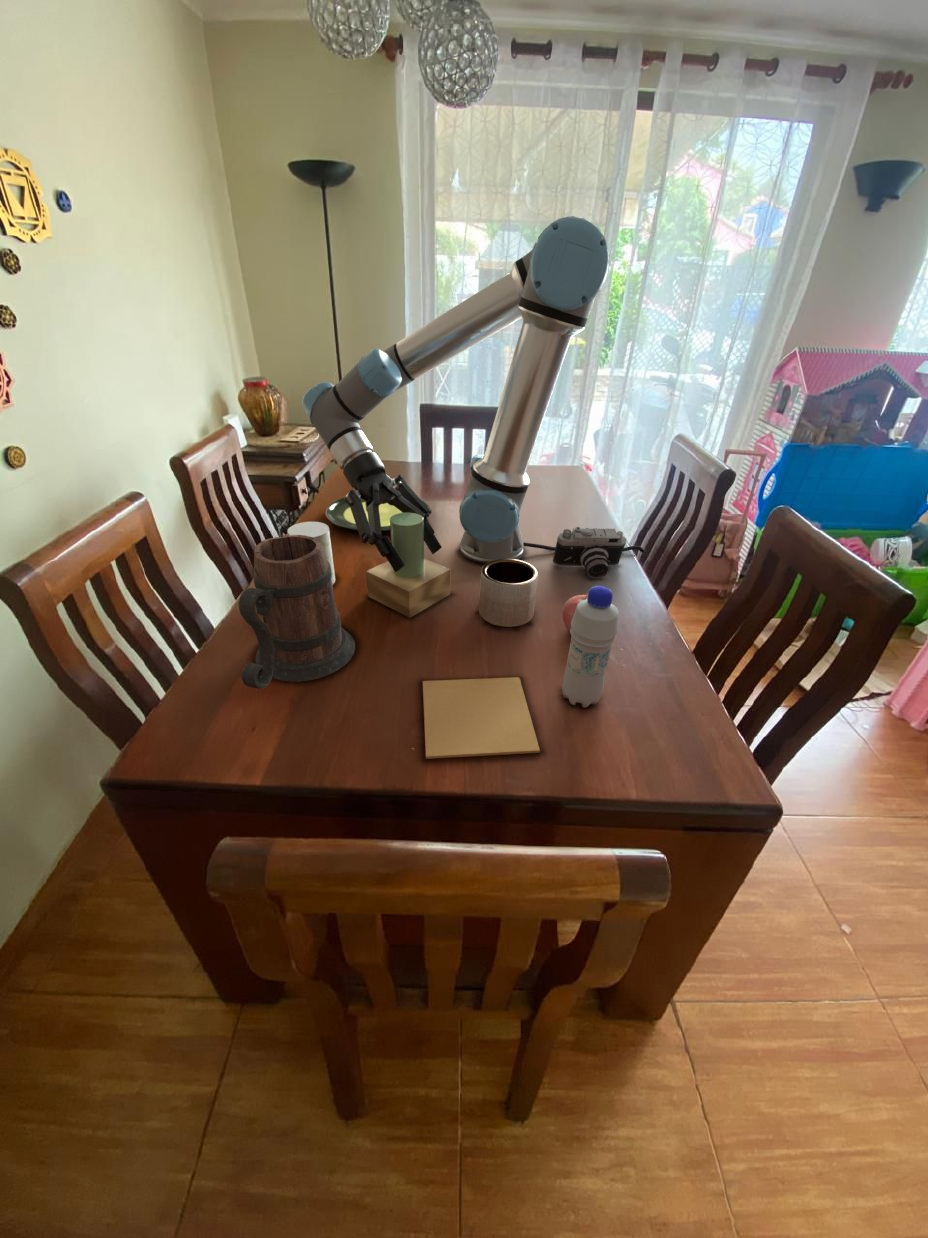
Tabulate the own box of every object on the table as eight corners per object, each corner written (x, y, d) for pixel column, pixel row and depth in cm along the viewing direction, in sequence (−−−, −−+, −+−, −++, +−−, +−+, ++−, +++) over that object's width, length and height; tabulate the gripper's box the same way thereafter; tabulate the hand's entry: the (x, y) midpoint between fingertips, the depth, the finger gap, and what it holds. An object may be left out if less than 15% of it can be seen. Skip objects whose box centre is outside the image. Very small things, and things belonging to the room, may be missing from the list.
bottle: (554, 684, 86) (571, 577, 75) (594, 682, 86) (617, 576, 75) (564, 712, 80) (584, 602, 69) (607, 711, 81) (633, 601, 70)
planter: (538, 605, 106) (543, 563, 101) (526, 634, 97) (531, 590, 92) (487, 595, 109) (490, 554, 104) (471, 622, 100) (473, 578, 95)
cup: (325, 592, 108) (318, 539, 101) (289, 588, 109) (279, 535, 103) (341, 574, 115) (335, 523, 108) (306, 570, 116) (298, 519, 109)
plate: (441, 505, 151) (441, 496, 150) (412, 544, 128) (412, 535, 127) (351, 495, 156) (351, 486, 155) (308, 531, 133) (306, 522, 132)
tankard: (290, 616, 100) (272, 519, 89) (371, 633, 96) (362, 533, 85) (207, 694, 81) (171, 583, 70) (303, 718, 78) (280, 604, 66)
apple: (568, 617, 103) (573, 581, 98) (604, 628, 100) (611, 592, 95) (554, 635, 97) (559, 599, 93) (591, 648, 94) (599, 610, 90)
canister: (424, 562, 108) (423, 512, 102) (424, 577, 102) (424, 525, 96) (392, 563, 107) (390, 512, 101) (392, 578, 102) (389, 525, 96)
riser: (409, 575, 115) (408, 551, 112) (450, 594, 109) (450, 569, 105) (368, 596, 107) (365, 570, 104) (409, 618, 101) (408, 591, 98)
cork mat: (519, 679, 86) (519, 677, 86) (539, 752, 73) (540, 750, 73) (422, 683, 85) (422, 680, 85) (425, 759, 72) (425, 756, 71)
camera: (556, 583, 117) (565, 550, 109) (551, 557, 123) (558, 524, 115) (625, 583, 118) (638, 550, 110) (616, 557, 123) (628, 524, 116)
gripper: (391, 460, 111) (446, 549, 111) (303, 485, 96) (367, 588, 97) (408, 439, 105) (466, 533, 106) (318, 462, 91) (385, 572, 91)
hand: (419, 559), depth 101 cm, fingers open, 10 cm apart
